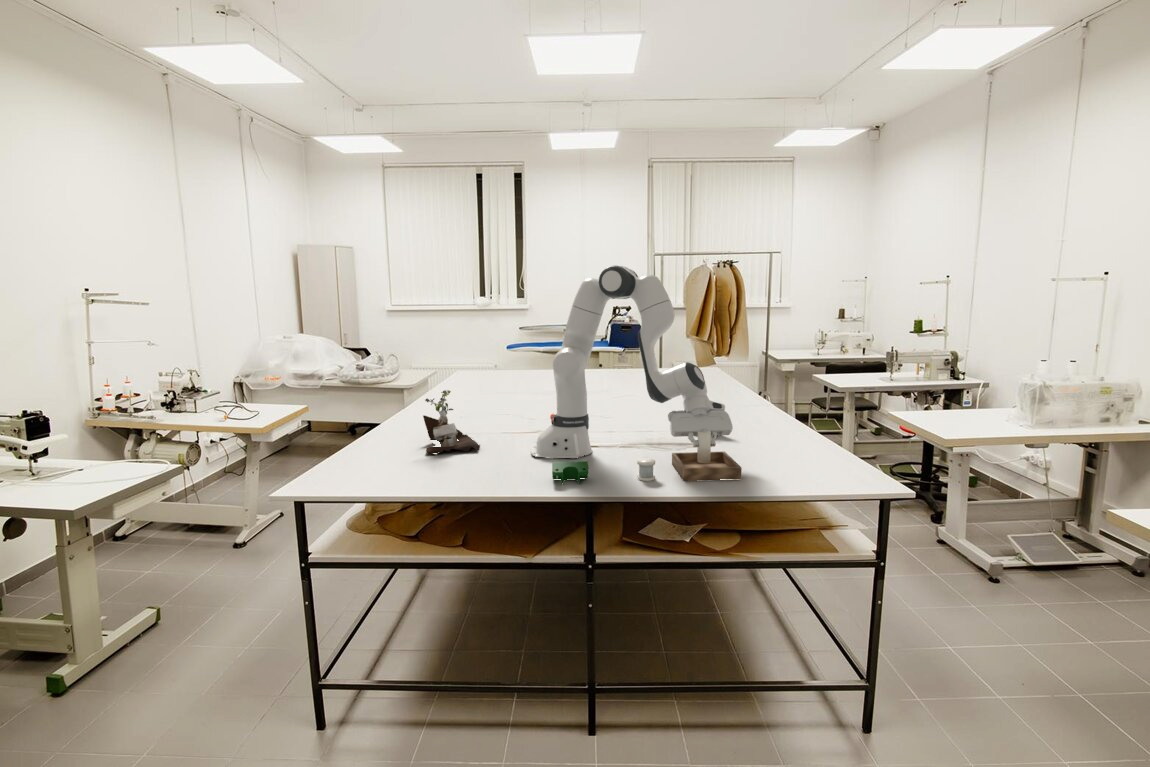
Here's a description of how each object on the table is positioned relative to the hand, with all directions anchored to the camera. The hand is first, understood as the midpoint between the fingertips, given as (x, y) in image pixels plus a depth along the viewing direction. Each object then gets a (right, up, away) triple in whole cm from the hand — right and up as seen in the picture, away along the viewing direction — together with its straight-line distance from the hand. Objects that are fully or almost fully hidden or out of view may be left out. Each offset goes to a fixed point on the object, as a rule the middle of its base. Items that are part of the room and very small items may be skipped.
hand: (704, 446), depth 191 cm
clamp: (-44, -11, -8) cm, 45 cm away
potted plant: (-89, -4, +35) cm, 96 cm away
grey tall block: (0, -5, +2) cm, 5 cm away
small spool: (-20, -10, -6) cm, 23 cm away
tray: (0, -8, 0) cm, 8 cm away
